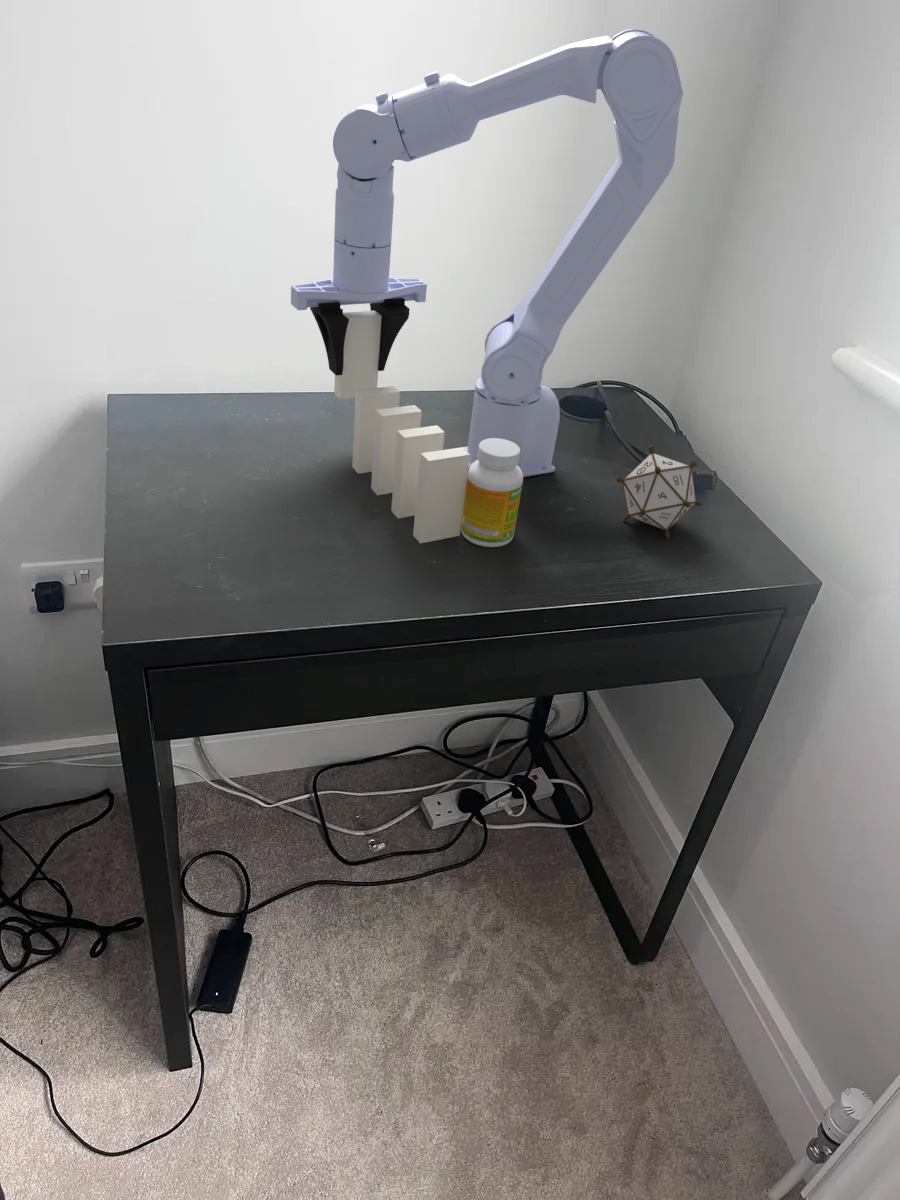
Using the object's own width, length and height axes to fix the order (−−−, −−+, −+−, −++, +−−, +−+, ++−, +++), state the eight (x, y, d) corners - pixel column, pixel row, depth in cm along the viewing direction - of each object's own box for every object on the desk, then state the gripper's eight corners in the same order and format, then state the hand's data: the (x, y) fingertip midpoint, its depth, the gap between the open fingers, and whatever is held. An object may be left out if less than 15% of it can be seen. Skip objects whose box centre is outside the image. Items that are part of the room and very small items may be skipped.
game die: (642, 563, 98) (637, 520, 89) (606, 502, 102) (596, 456, 93) (718, 524, 98) (720, 478, 89) (678, 465, 101) (676, 415, 92)
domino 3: (408, 482, 99) (414, 405, 94) (414, 489, 98) (421, 411, 93) (371, 488, 98) (375, 409, 92) (377, 495, 96) (382, 416, 91)
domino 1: (370, 389, 103) (375, 310, 98) (376, 395, 102) (381, 315, 97) (334, 393, 101) (336, 313, 96) (339, 399, 100) (343, 318, 95)
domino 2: (388, 461, 103) (393, 386, 98) (394, 468, 102) (400, 391, 97) (352, 467, 101) (355, 390, 96) (358, 473, 100) (362, 396, 95)
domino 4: (429, 504, 96) (437, 425, 91) (436, 511, 95) (444, 432, 90) (391, 510, 94) (397, 430, 89) (398, 518, 93) (404, 437, 88)
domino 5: (451, 527, 93) (461, 447, 87) (459, 535, 92) (469, 454, 86) (412, 535, 91) (420, 453, 85) (420, 543, 90) (428, 460, 84)
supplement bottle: (509, 553, 90) (523, 464, 84) (455, 542, 90) (466, 453, 85) (516, 526, 94) (531, 440, 89) (465, 516, 95) (477, 430, 89)
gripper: (409, 228, 98) (400, 350, 106) (280, 231, 92) (280, 361, 99) (440, 246, 93) (428, 374, 101) (305, 251, 87) (304, 387, 95)
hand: (356, 369), depth 100 cm, fingers closed on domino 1, 4 cm apart
